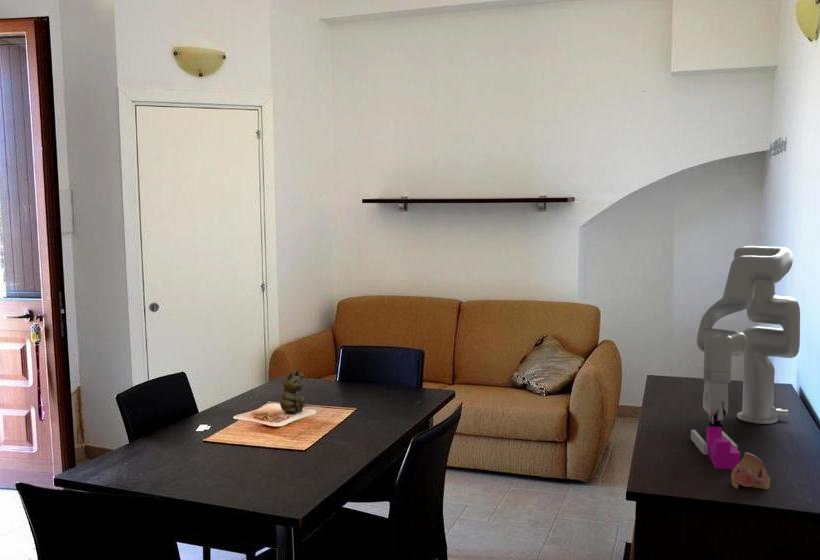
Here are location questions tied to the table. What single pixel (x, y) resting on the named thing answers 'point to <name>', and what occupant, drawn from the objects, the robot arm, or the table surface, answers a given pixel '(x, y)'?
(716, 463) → the toy block
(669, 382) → the table surface
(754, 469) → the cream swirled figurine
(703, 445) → the guide channel
